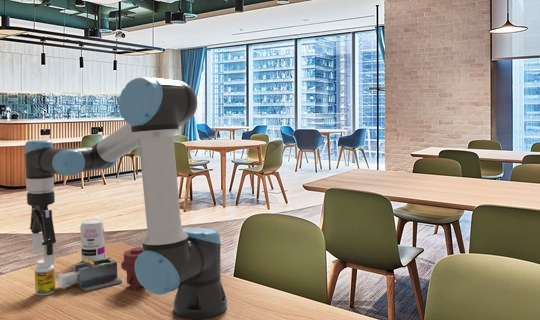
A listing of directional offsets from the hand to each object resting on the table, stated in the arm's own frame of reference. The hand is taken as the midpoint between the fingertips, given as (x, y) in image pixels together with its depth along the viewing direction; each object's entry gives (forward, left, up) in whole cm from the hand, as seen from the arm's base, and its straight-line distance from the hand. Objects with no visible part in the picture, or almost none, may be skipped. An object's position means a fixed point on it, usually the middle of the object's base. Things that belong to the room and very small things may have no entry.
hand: (43, 259), depth 140 cm
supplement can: (+21, -22, -11) cm, 33 cm away
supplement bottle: (0, 0, -11) cm, 11 cm away
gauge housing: (0, -16, -11) cm, 19 cm away
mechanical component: (-13, -25, -11) cm, 30 cm away
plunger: (0, -10, -10) cm, 14 cm away
